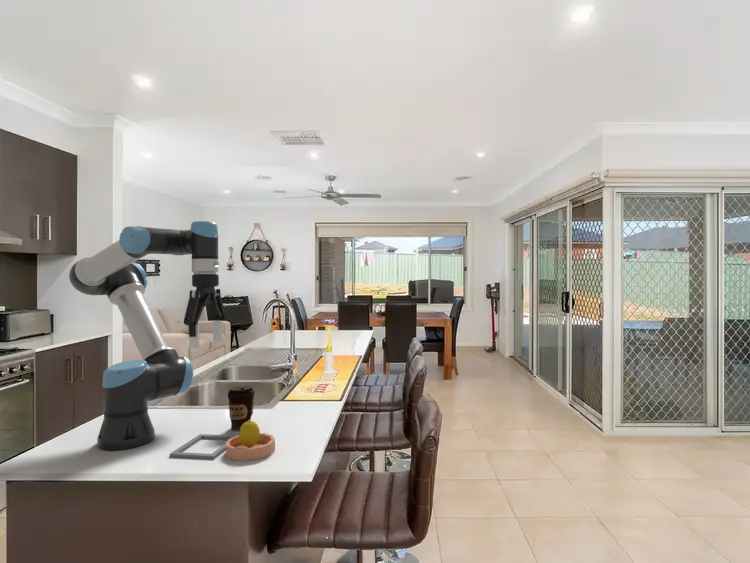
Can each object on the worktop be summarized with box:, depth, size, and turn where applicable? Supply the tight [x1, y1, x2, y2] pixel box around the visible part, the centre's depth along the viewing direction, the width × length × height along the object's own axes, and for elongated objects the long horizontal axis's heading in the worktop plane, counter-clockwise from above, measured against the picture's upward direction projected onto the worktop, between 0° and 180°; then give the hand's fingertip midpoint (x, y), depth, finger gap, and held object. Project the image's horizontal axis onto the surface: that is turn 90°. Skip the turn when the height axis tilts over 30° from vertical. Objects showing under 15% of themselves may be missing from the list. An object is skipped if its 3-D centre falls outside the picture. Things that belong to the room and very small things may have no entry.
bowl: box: [225, 432, 276, 462], centre depth 130 cm, size 13×13×3 cm
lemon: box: [238, 419, 261, 448], centre depth 130 cm, size 6×6×8 cm
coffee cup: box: [227, 385, 256, 431], centre depth 151 cm, size 9×8×13 cm
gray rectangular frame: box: [169, 433, 236, 460], centre depth 134 cm, size 13×16×1 cm
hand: (206, 344), depth 139 cm, fingers open, 13 cm apart
